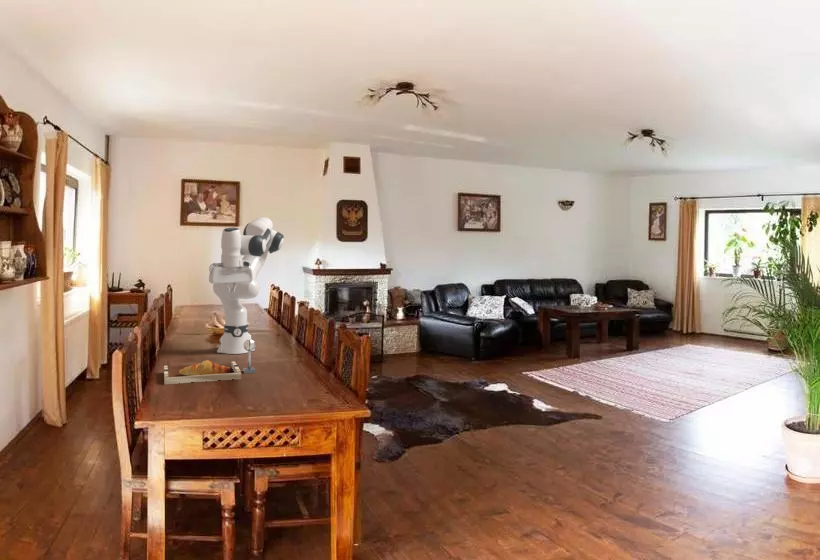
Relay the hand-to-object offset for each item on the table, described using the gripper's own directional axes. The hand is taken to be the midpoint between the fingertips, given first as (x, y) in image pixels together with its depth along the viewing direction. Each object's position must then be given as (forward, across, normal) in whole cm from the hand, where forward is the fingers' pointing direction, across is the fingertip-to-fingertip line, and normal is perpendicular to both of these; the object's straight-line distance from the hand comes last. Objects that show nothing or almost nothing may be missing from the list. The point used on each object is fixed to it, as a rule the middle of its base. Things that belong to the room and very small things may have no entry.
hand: (231, 292), depth 268 cm
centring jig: (+34, -18, -10) cm, 40 cm away
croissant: (+34, -17, -10) cm, 40 cm away
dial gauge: (+34, 0, -17) cm, 38 cm away
